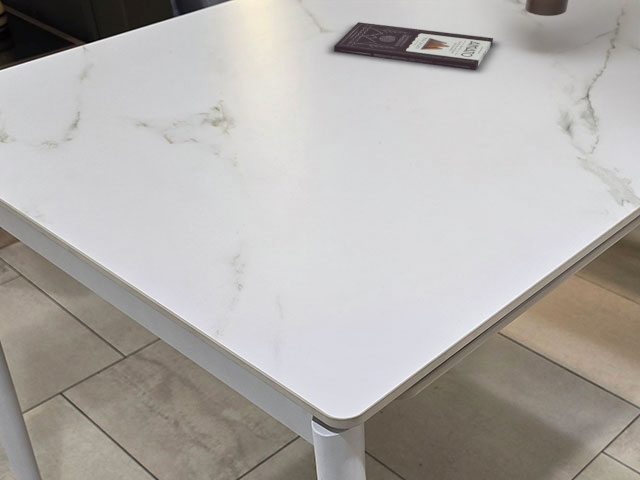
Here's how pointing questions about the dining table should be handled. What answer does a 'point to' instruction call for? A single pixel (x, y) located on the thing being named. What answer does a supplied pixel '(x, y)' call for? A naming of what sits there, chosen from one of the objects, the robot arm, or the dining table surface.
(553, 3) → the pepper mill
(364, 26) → the chocolate bar
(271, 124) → the dining table surface
